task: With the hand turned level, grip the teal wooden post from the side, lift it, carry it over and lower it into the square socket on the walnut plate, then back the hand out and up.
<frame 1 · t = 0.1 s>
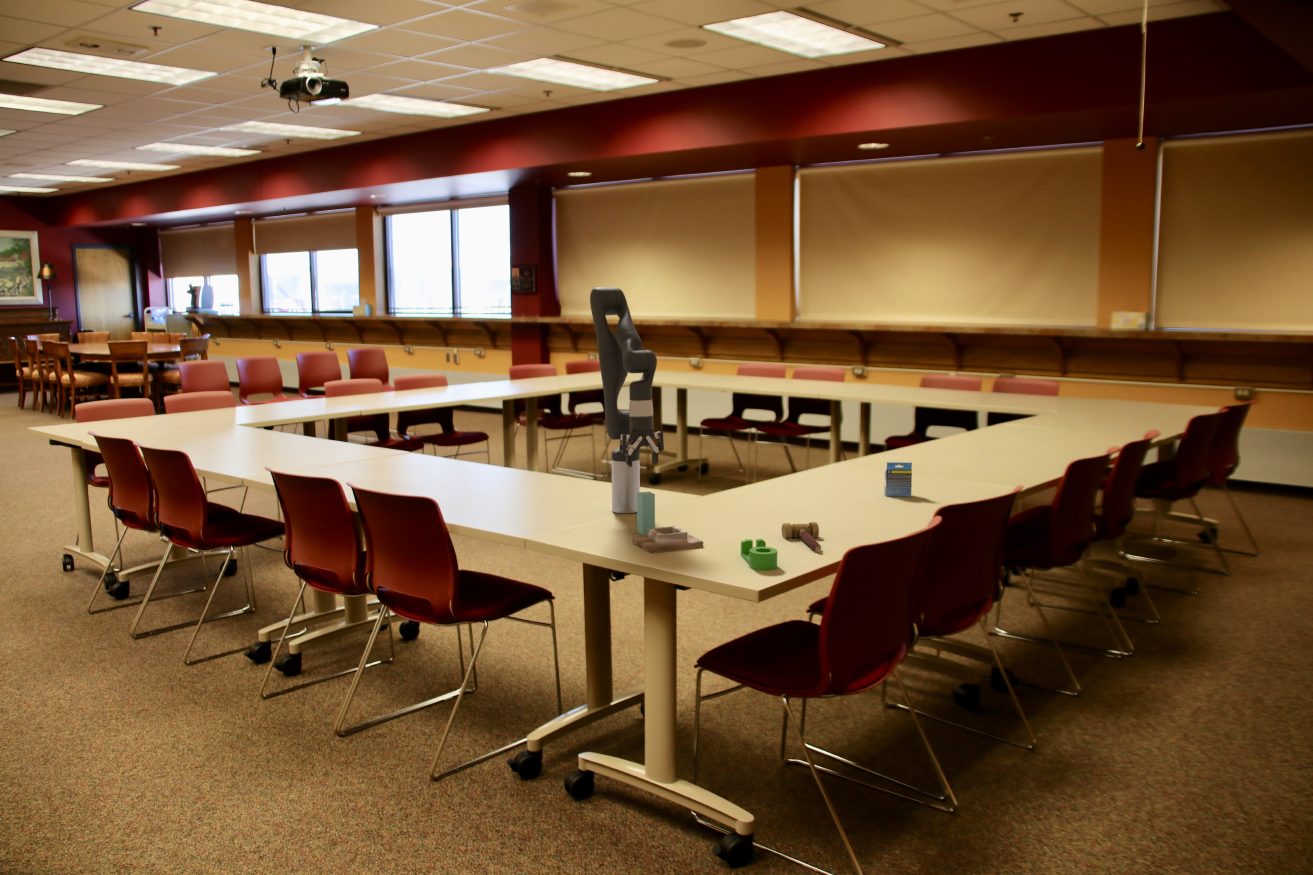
hand: (642, 465, 284), 17 cm above the table, tool pointing down, fingers open, 8 cm apart
label tape cartridge: (897, 496, 320), on the table
walnut socket plate: (667, 544, 256), on the table
gavel: (808, 546, 255), on the table
green slotted bracket: (759, 564, 237), on the table
teal post: (646, 532, 269), on the table
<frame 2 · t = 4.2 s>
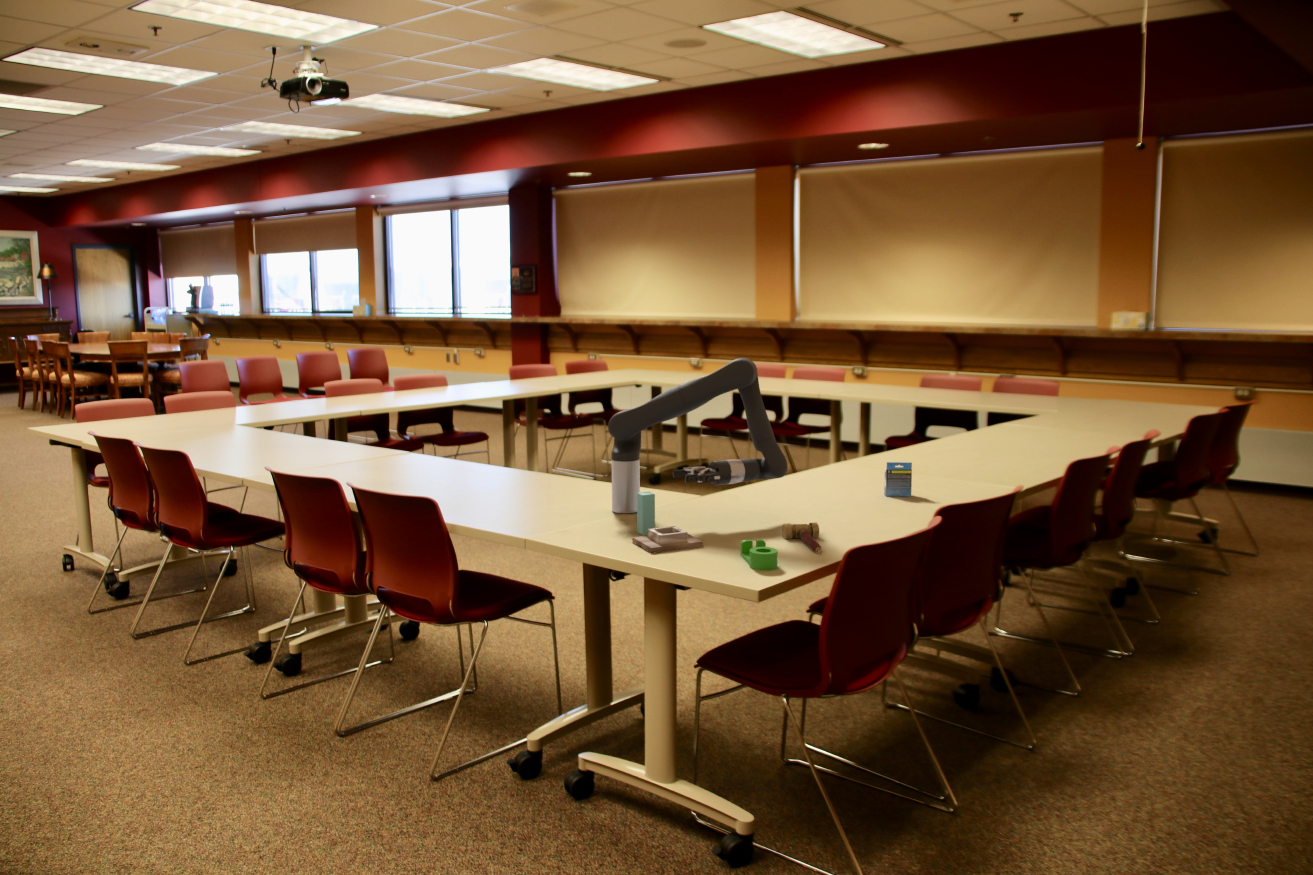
hand: (679, 476, 271), 16 cm above the table, tool horizontal, fingers open, 8 cm apart
nothing on the table moved.
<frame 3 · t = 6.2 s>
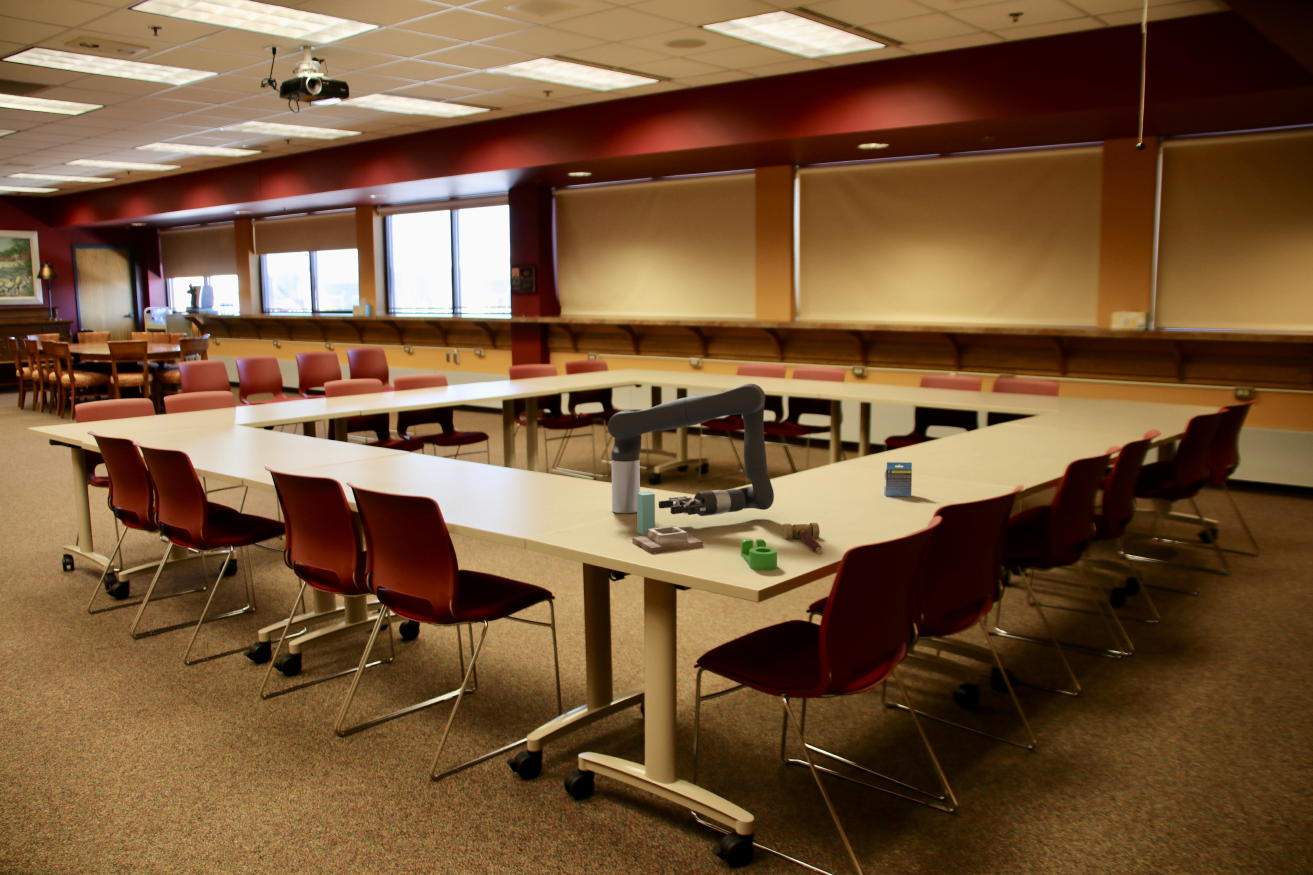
hand: (664, 507, 271), 7 cm above the table, tool horizontal, fingers open, 8 cm apart
nothing on the table moved.
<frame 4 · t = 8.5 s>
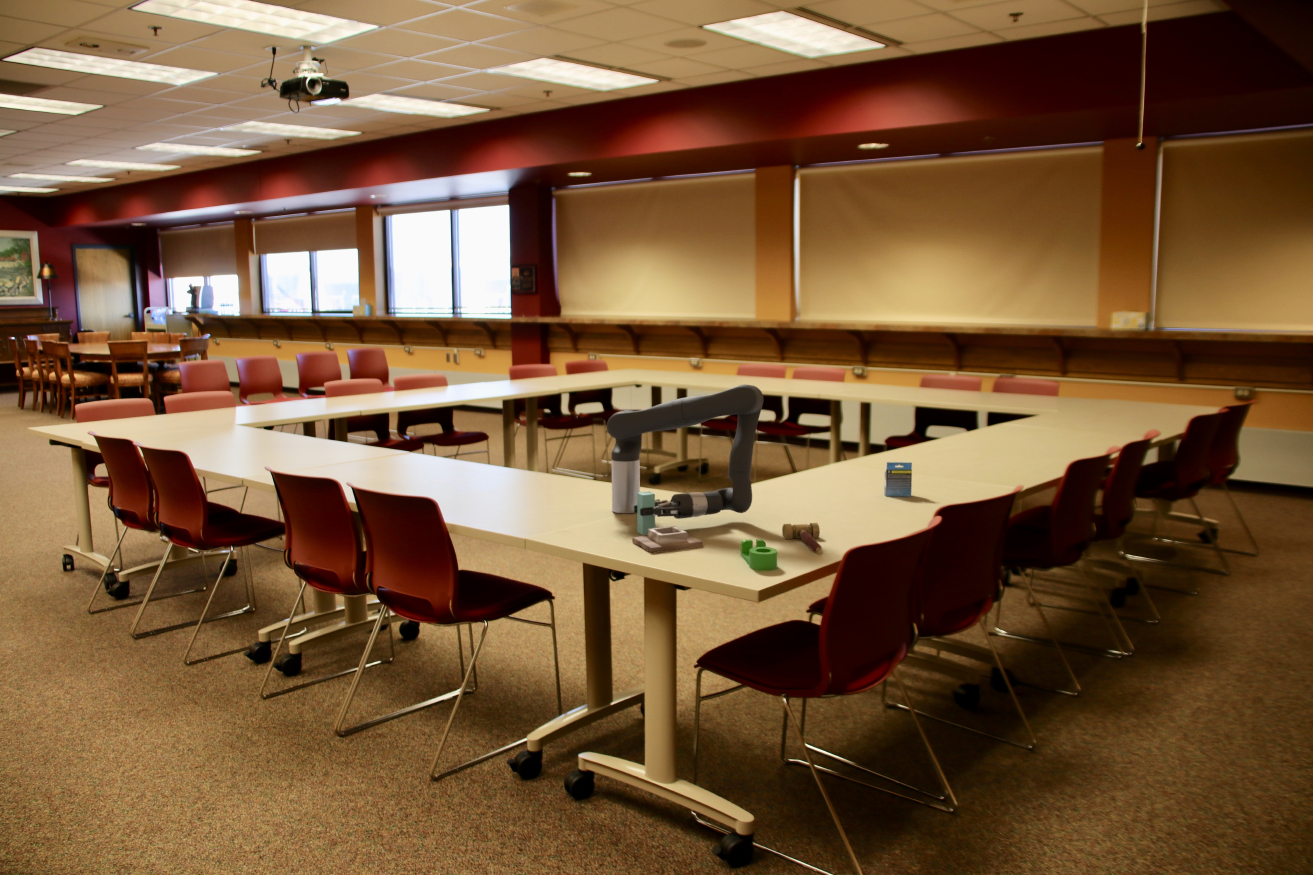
hand: (637, 510, 267), 7 cm above the table, tool horizontal, fingers closed on teal post, 4 cm apart
teal post: (646, 532, 269), on the table, touching gripper
everything else where it was.
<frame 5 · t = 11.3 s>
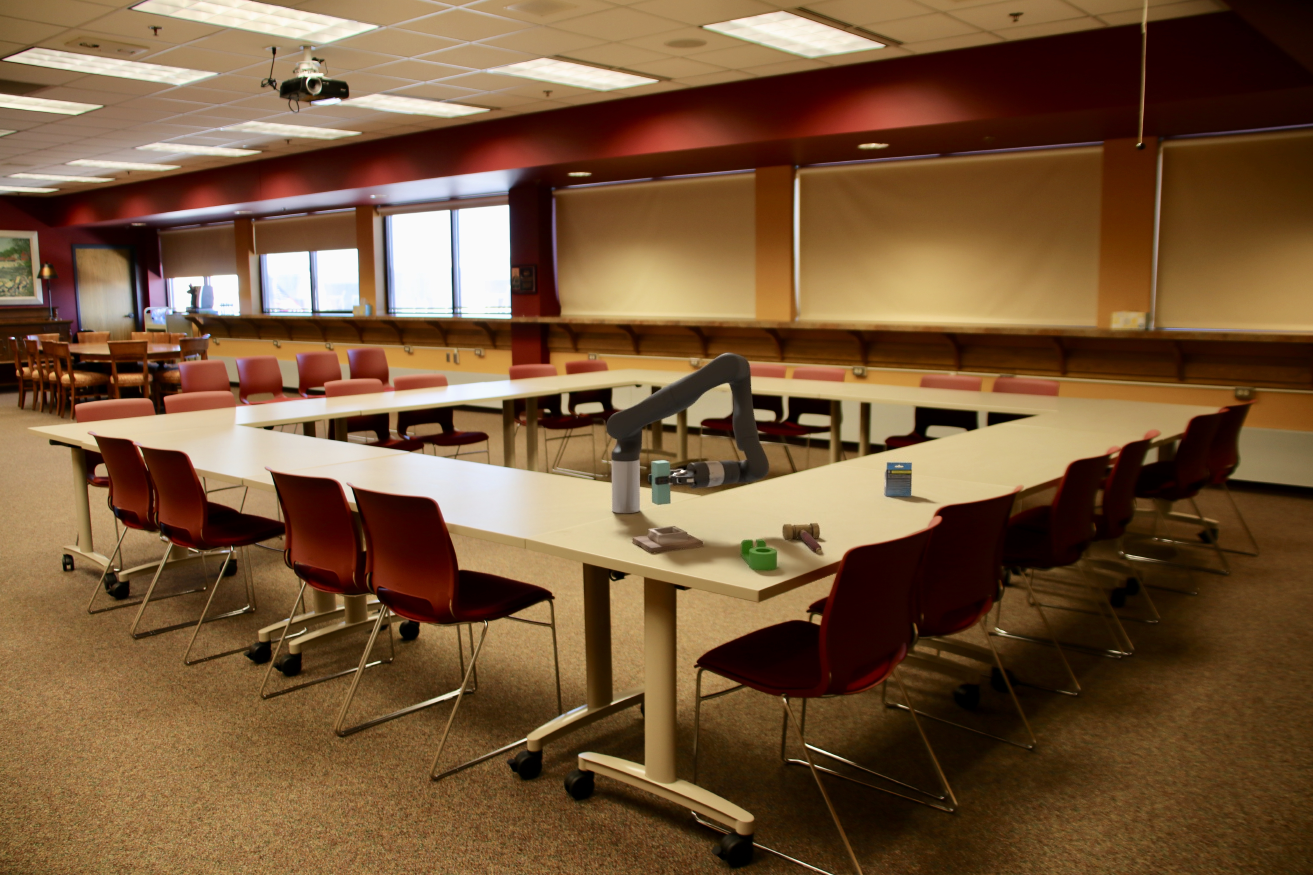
hand: (652, 479, 257), 18 cm above the table, tool horizontal, fingers closed on teal post, 4 cm apart
teal post: (661, 502, 259), point 11 cm above the table, touching gripper
everything else where it was.
when the fingers open (10 cm above the table, at t = 14.5 s): teal post drops 1 cm, resting on walnut socket plate.
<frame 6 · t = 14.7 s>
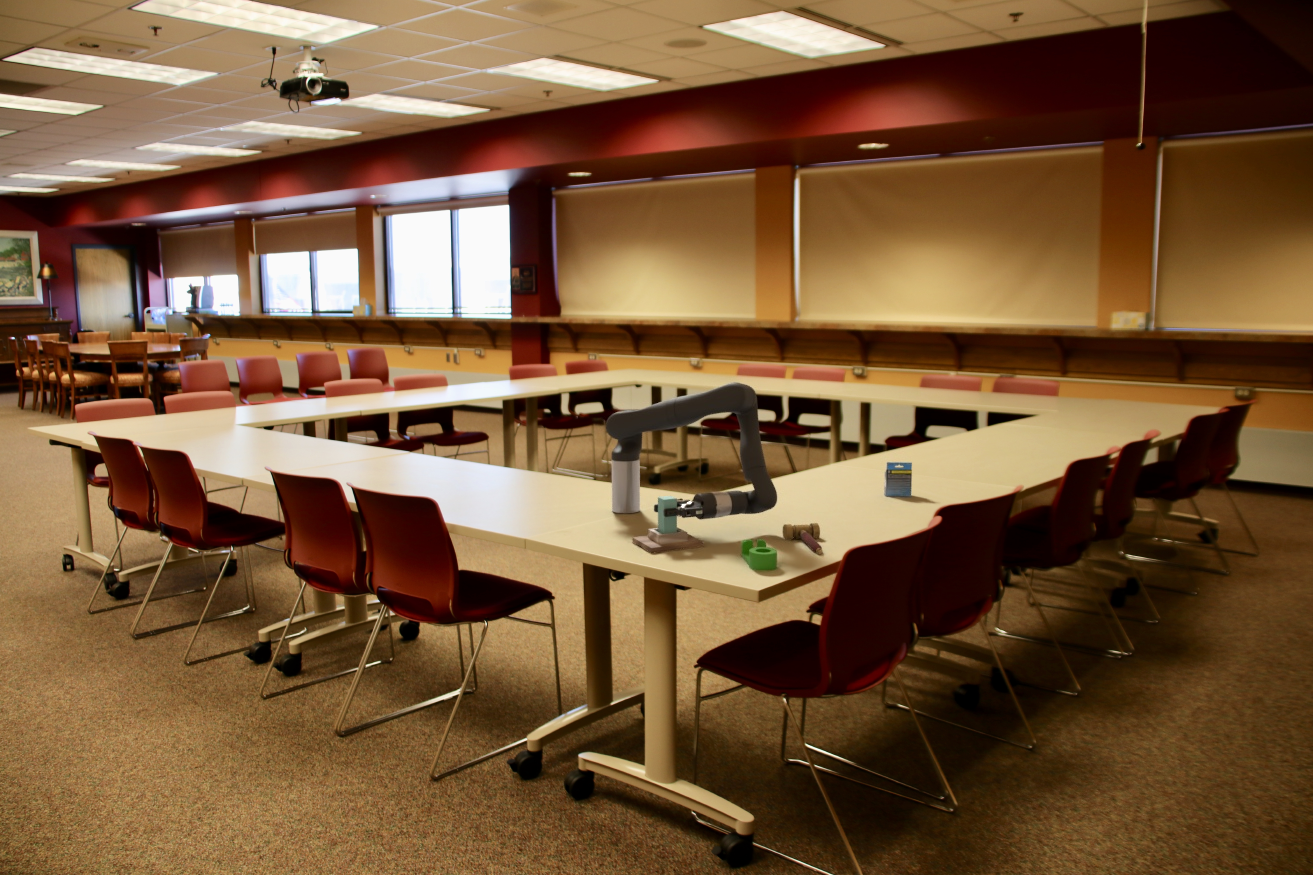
hand: (659, 510, 253), 10 cm above the table, tool horizontal, fingers open, 6 cm apart
teal post: (667, 539, 255), point 1 cm above the table, touching walnut socket plate
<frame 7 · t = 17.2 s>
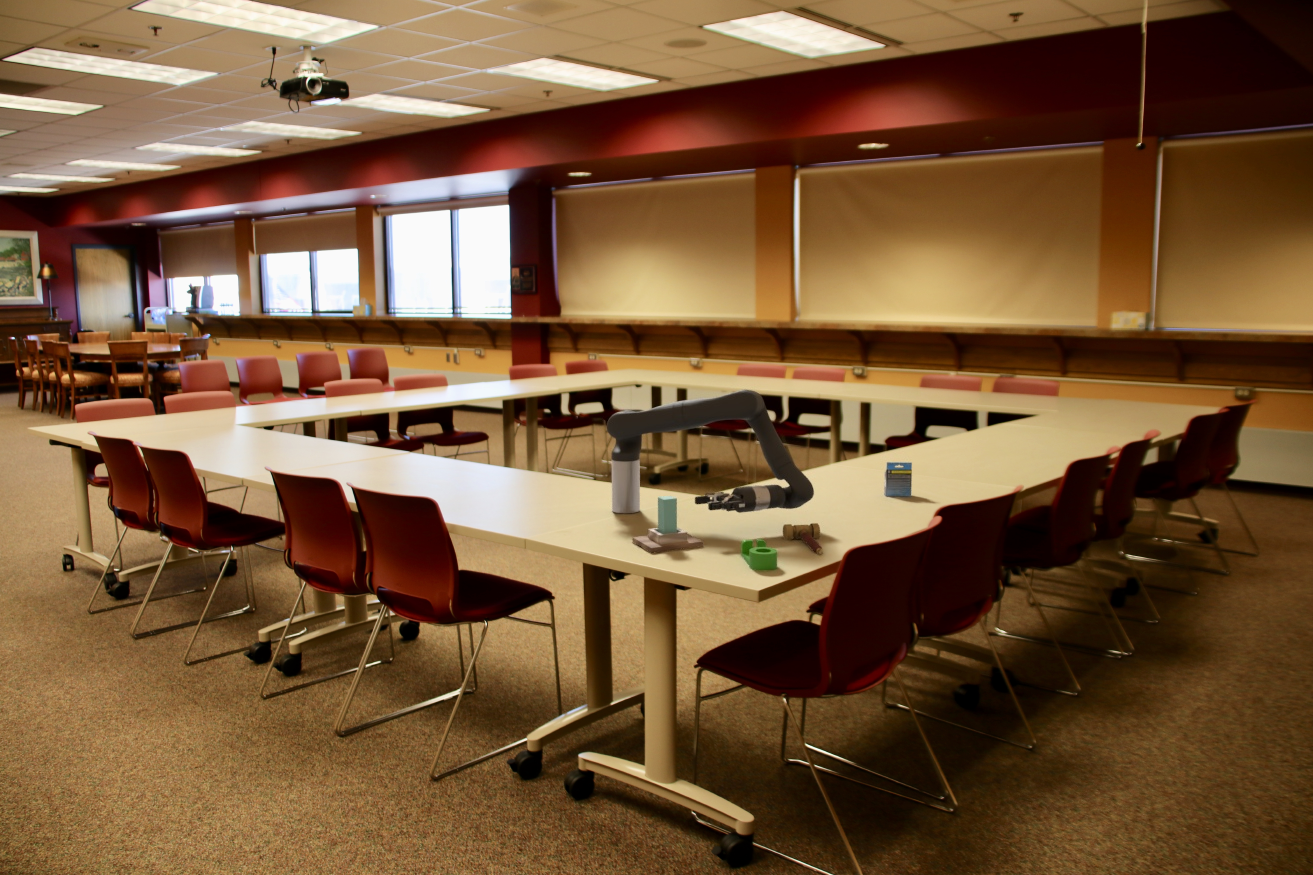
hand: (702, 503, 259), 11 cm above the table, tool horizontal, fingers open, 8 cm apart
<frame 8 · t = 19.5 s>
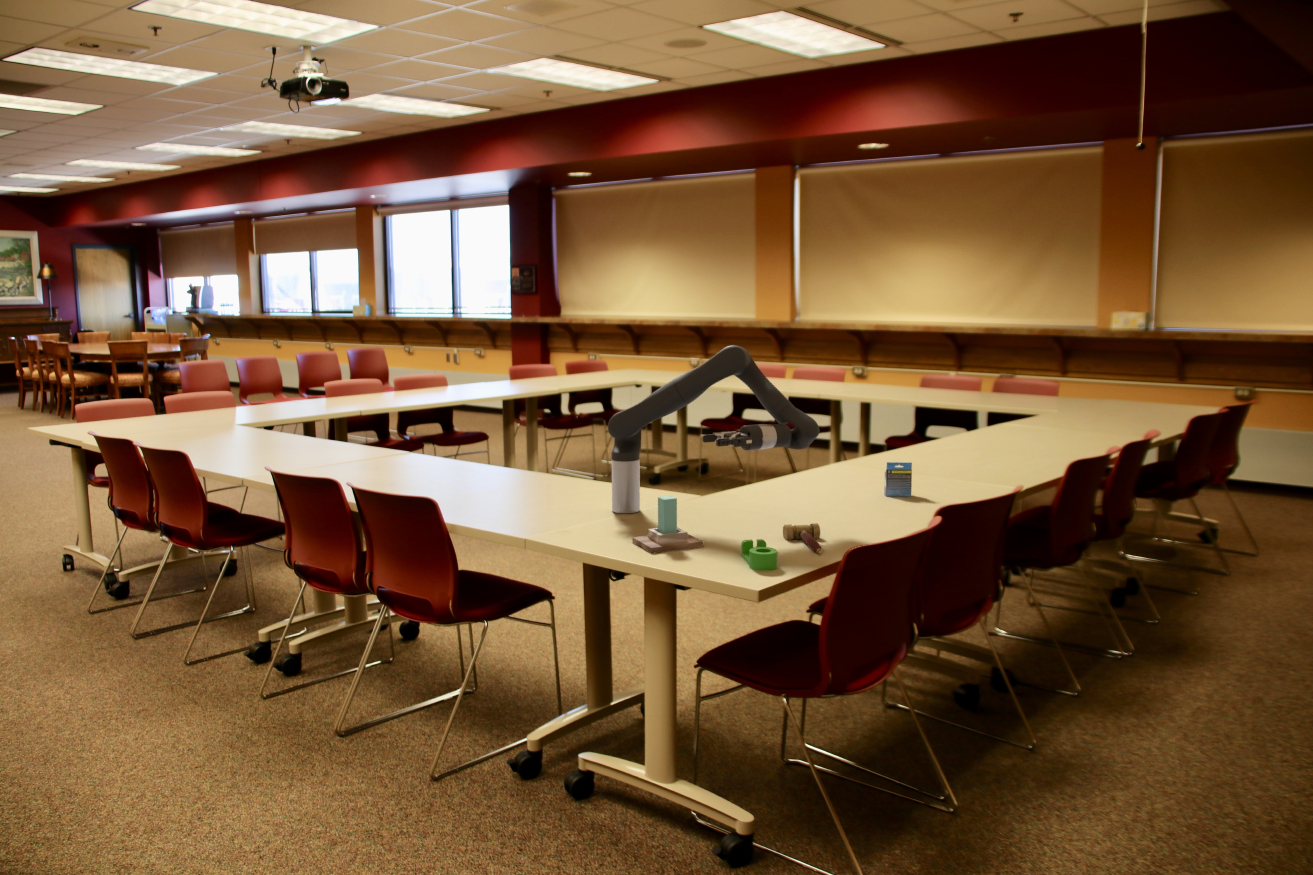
hand: (709, 440, 263), 28 cm above the table, tool horizontal, fingers open, 8 cm apart
at the end: teal post 0.1 cm off-centre on the walnut socket plate, point 1.5 cm above the walnut socket plate's base; teal post tilted 0°; the gripper is holding nothing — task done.
